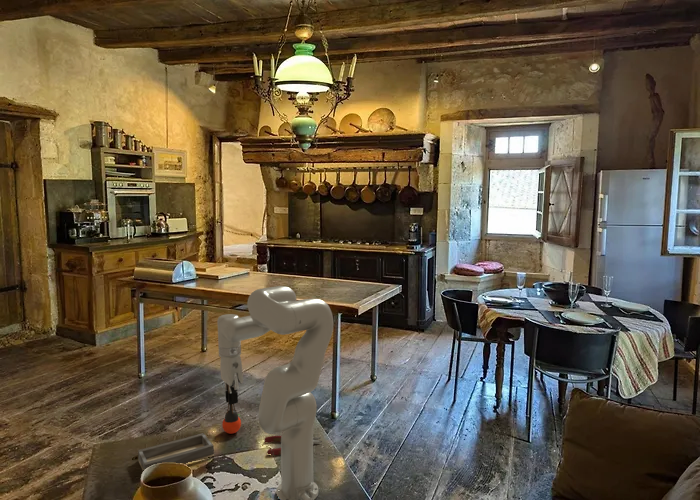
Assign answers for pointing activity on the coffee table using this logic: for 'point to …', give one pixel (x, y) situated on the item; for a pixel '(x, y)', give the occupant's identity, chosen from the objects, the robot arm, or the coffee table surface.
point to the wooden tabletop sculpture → (231, 413)
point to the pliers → (278, 439)
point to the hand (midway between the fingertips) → (231, 402)
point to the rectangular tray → (177, 451)
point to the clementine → (231, 426)
